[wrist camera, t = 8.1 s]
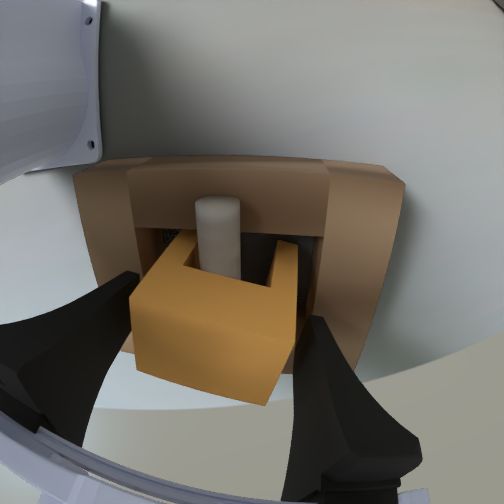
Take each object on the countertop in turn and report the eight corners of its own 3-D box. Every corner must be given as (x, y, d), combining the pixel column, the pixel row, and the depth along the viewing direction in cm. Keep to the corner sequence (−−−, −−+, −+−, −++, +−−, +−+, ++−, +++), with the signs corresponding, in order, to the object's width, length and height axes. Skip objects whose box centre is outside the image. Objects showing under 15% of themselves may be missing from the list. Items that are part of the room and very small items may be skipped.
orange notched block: (190, 218, 15) (129, 297, 9) (297, 244, 14) (295, 342, 9) (184, 282, 17) (136, 370, 11) (277, 307, 16) (265, 406, 11)
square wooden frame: (106, 159, 14) (51, 186, 10) (383, 166, 13) (421, 196, 9) (138, 320, 19) (110, 369, 15) (346, 339, 18) (355, 397, 14)
